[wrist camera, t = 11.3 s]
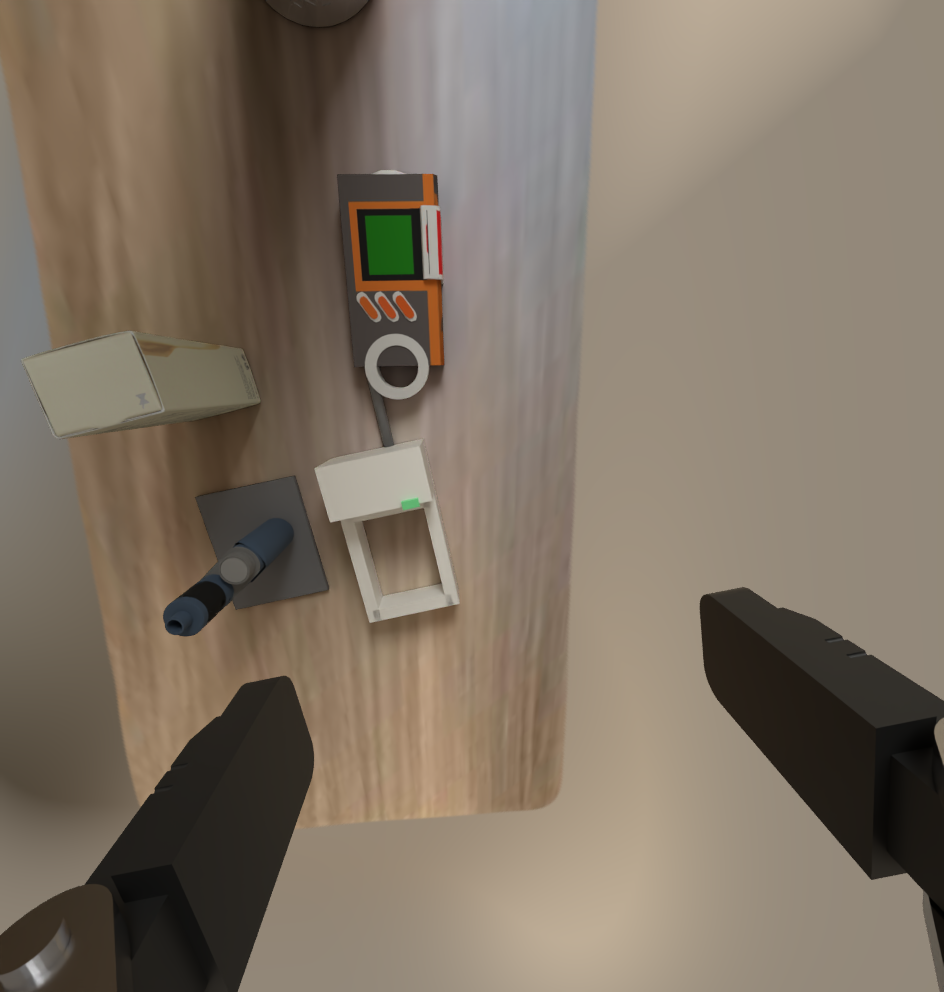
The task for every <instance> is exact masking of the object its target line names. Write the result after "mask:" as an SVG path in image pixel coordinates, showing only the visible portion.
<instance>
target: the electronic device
mask: <svg viewBox="0 0 944 992" xmlns="http://www.w3.org/2000/svg"><path fill="white" fill-rule="evenodd" d="M337 179H338V191H339V202H340V213H341V224H342V235H343V246H344V258H345V269H346V280H347V291H348V302H349V313H350V325H351V336H352V347H353V358H354V367H365V371H366V376H367V378H368V381H369V382H370V384H371V386H372V387H373V388H374V389H375V390H376V391H377V392H378V393H380V394H381V395H383V396H385V397H387V398H391V399H406V398H409V397H411V396H413V395H415V394H416V393H417V392H418V391H420V390H421V389H422V387H423V386H424V385H425V383H426V381H427V379H428V376H429V368H430V366H429V365H444V344H443V317H442V290H441V284H443V256H442V228H441V217H440V207H439V206H438V183H437V175H434V174H405V173H402V172H399V171H396V170H379V171H377V172H375V173H372V174H337ZM382 366H418V374H417V376H416V379H415V380H414V381H413V383H411V384H410V385H409V386H406V387H395V386H392V385H390V384H389V383H388V382H386V380H385V379H384V378H383V376H382V374H381V371H380V367H382Z"/></svg>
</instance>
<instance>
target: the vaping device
mask: <svg viewBox="0 0 944 992" xmlns="http://www.w3.org/2000/svg"><path fill="white" fill-rule="evenodd" d="M293 537H294V530H293V528H292V526H291V525H290V524H289V523H288V522H287V521H285V520H283V519H280V518H272V519H268V520H267V521H266V522H264V523H263V524H261V525H260V526H259V527H257V528H256V529H255V530H253V531H252V532H250V533H249V534H248V535H246V536H245V537H244V538H242V539H241V540H239V541H238V542H237V543H235V545H234V546H233V548H231V549H230V550H229V551H228V552H227V553H226V554H225V555H224V556H223V557H222V558H221V559H220V560H219V561H218V562H217V563H216V564H215V565H214V566H213V567H212V568H211V570H210V571H209V572H208V573H207V574H206V575H205V576H204V577H203V578H202V579H201V580H200V581H199V582H197V583H196V584H195V585H194V586H192V587H191V588H190V589H188V590H187V591H186V592H185V593H183V594H182V595H181V596H179V597H178V598H177V599H175V600H174V601H173V602H172V603H170V604H169V605H168V606H167V607H166V609H165V611H164V614H163V619H164V623H165V628H166V630H167V631H168V632H169V633H170V634H173V635H180V636H192V635H195V634H197V633H198V632H199V631H200V630H201V629H202V628H203V627H204V626H206V625H207V624H208V623H207V622H209V621H211V620H212V619H213V618H214V617H215V616H216V615H217V614H218V612H219V611H221V610H222V609H223V608H224V607H225V606H226V605H228V604H229V603H230V602H231V601H232V600H233V599H234V598H235V597H236V596H237V595H238V593H239V592H241V591H242V590H243V589H244V588H245V587H246V586H247V585H248V584H249V583H250V582H253V581H254V580H255V579H256V578H257V577H258V576H259V575H260V574H261V573H262V572H263V571H264V570H265V569H266V568H267V567H268V566H269V565H270V564H271V563H272V562H273V561H274V560H275V559H276V557H277V556H278V555H279V554H280V553H281V552H282V551H283V550H284V549H285V548H286V547H287V546H288V545H289V544H290V543H291V542H292V540H293ZM215 613H217V614H216V615H215Z"/></svg>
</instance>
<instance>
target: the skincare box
mask: <svg viewBox="0 0 944 992" xmlns="http://www.w3.org/2000/svg"><path fill="white" fill-rule="evenodd" d="M21 362H22V365H23V367H24V369H25V371H26V373H27V376H28V378H29V381H30V383H31V386H32V388H33V390H34V393H35V395H36V398H37V400H38V402H39V404H40V406H41V409H42V411H43V414H44V416H45V418H46V420H47V423H48V425H49V427H50V430H51V432H52V434H53V436H54V437H55V438H58V439H65V438H72V437H80V436H87V435H94V434H101V433H108V432H115V431H123V430H130V429H137V428H144V427H151V426H159V425H166V424H173V423H181V422H188V421H193V420H198V419H202V418H207V417H211V416H215V415H219V414H223V413H227V412H231V411H234V410H238V409H242V408H245V407H249V406H252V405H255V404H259V403H260V402H261V401H260V397H259V394H258V391H257V387H256V384H255V381H254V378H253V375H252V372H251V369H250V367H249V364H248V361H247V359H246V356H245V353H244V351H243V349H241V348H235V347H228V346H222V345H215V344H209V343H203V342H197V341H190V340H184V339H178V338H171V337H165V336H159V335H153V334H146V333H140V332H135V331H124V332H118V333H114V334H109V335H104V336H100V337H96V338H92V339H88V340H84V341H80V342H77V343H73V344H69V345H66V346H62V347H59V348H55V349H52V350H48V351H45V352H43V353H39V354H36V355H32V356H29V357H26V358H23V359H22V360H21Z"/></svg>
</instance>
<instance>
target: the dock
mask: <svg viewBox="0 0 944 992" xmlns="http://www.w3.org/2000/svg"><path fill="white" fill-rule="evenodd" d="M364 369H365V367H364ZM365 373H366V371H365ZM366 377H367V376H366ZM367 381H368V378H367ZM368 385H369V389H370V393H371V397H372V401H373V405H374V409H375V413H376V417H377V420H378V424H379V428H380V432H381V436H382V440H383V444H384V447H381V448H377V449H372V450H367V451H363V452H358V453H353V454H349V455H344V456H339V457H335V458H331V459H330V460H328V461H326V462H325V463H323V464H321V465H320V466H318V467H316V468H314V469H315V473H316V476H317V480H318V483H319V487H320V490H321V493H322V497H323V500H324V504H325V507H326V510H327V514H328V517H329V521H330V522H335V521H341V525H342V528H343V532H344V535H345V539H346V542H347V546H348V549H349V553H350V556H351V560H352V563H353V567H354V570H355V574H356V577H357V580H358V584H359V587H360V591H361V594H362V598H363V601H364V605H365V608H366V612H367V615H368V619H369V622H370V623H372V622H377V621H381V620H386V619H391V618H395V617H400V616H405V615H409V614H414V613H419V612H423V611H428V610H433V609H437V608H442V607H447V606H451V605H456V604H459V589H458V585H457V581H456V576H455V572H454V568H453V563H452V559H451V555H450V550H449V546H448V542H447V538H446V533H445V529H444V525H443V520H442V516H441V512H440V507H439V503H438V499H437V494H436V490H435V486H434V482H433V477H432V473H431V469H430V464H429V460H428V456H427V451H426V447H425V443H424V439H419V440H414V441H410V442H405V443H400V444H395V445H394V442H393V438H392V434H391V430H390V426H389V422H388V418H387V414H386V410H385V406H384V402H383V398H382V395H381V394H380V393H378V392H377V391H376V390H375V389H374V388H373V387H372V386H371V384H370V382H369V381H368ZM421 508H424V511H425V515H426V519H427V523H428V527H429V531H430V536H431V540H432V544H433V548H434V552H435V556H436V560H437V565H438V569H439V573H440V577H441V581H442V583H441V584H436V585H432V586H427V587H422V588H418V589H413V590H408V591H404V592H399V593H394V594H390V595H385V596H383V595H382V591H381V587H380V584H379V580H378V576H377V573H376V569H375V565H374V562H373V558H372V555H371V551H370V547H369V544H368V540H367V536H366V533H365V529H364V526H363V522H362V521H365V520H370V519H375V518H379V517H384V516H389V515H393V514H398V513H403V512H407V511H412V510H417V509H421Z"/></svg>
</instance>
